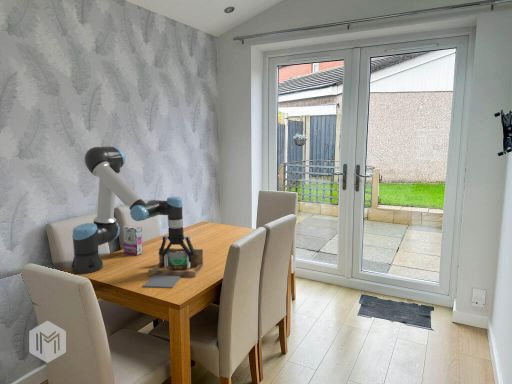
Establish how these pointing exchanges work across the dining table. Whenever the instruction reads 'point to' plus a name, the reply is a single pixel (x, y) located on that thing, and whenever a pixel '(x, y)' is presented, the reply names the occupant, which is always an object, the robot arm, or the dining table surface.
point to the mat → (162, 281)
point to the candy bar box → (132, 240)
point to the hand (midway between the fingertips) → (177, 267)
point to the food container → (178, 260)
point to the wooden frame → (196, 261)
